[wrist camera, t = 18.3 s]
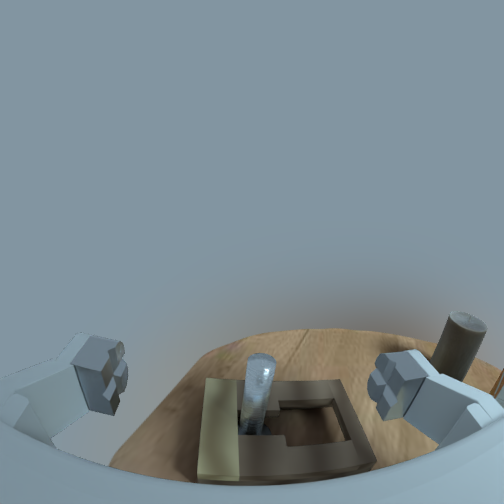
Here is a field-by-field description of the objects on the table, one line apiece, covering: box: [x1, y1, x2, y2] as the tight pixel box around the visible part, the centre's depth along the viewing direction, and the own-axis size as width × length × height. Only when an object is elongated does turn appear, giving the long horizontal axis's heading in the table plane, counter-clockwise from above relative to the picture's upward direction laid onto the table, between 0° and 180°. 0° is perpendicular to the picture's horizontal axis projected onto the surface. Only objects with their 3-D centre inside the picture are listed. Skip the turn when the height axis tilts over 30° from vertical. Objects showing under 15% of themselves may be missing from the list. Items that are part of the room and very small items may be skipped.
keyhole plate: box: [197, 378, 377, 486], centre depth 32 cm, size 21×17×4 cm
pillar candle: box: [429, 312, 487, 382], centre depth 43 cm, size 10×10×15 cm
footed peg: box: [238, 353, 276, 435], centre depth 30 cm, size 6×6×15 cm
